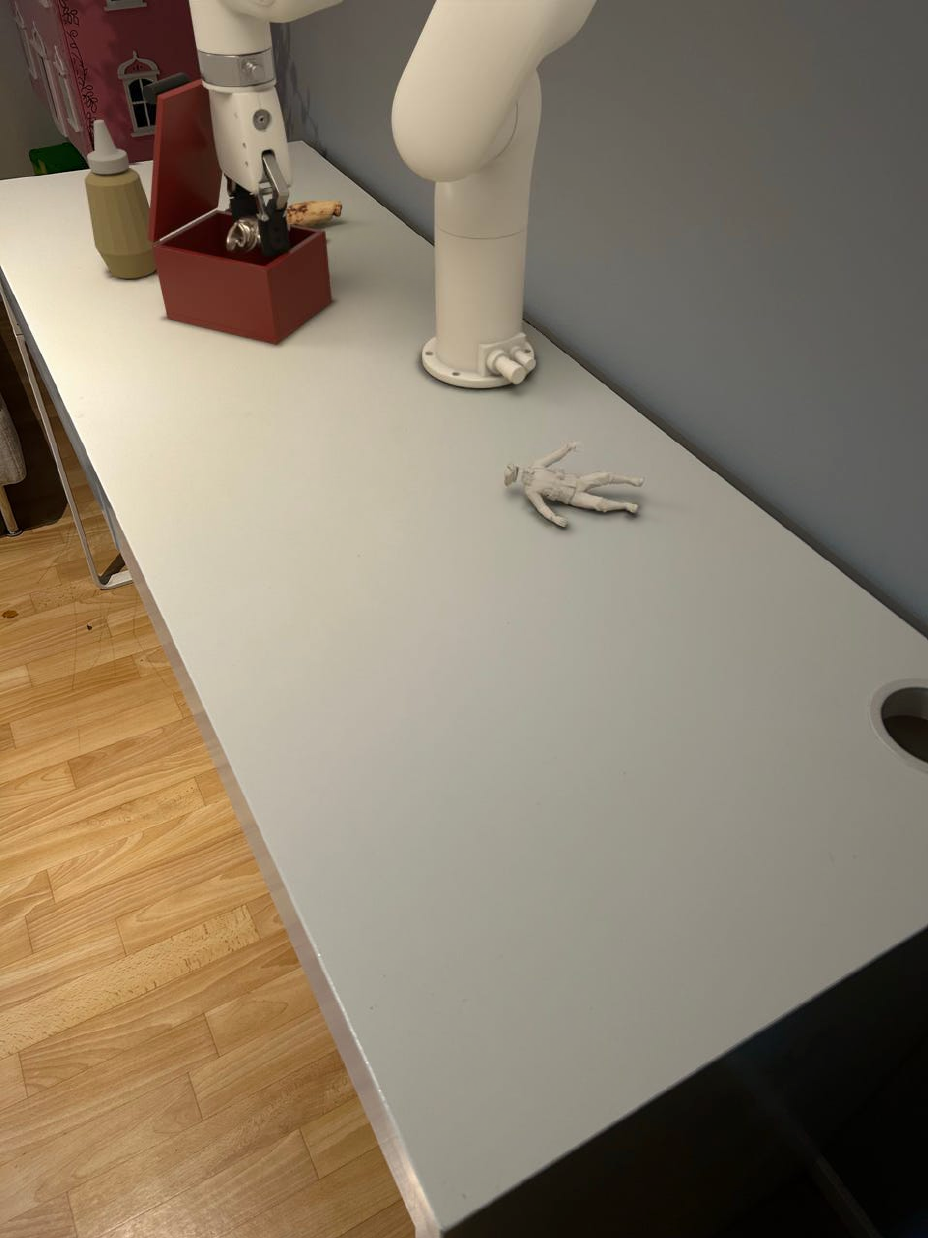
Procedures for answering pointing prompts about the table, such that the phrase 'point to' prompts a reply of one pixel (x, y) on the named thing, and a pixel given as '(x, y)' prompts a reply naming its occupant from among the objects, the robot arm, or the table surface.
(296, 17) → the robot arm
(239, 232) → the ornament
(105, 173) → the squeeze bottle
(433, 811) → the table surface
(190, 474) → the table surface
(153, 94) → the lid
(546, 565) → the table surface
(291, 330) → the box
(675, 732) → the table surface
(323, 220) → the lashed bone hook
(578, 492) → the soldier figure
